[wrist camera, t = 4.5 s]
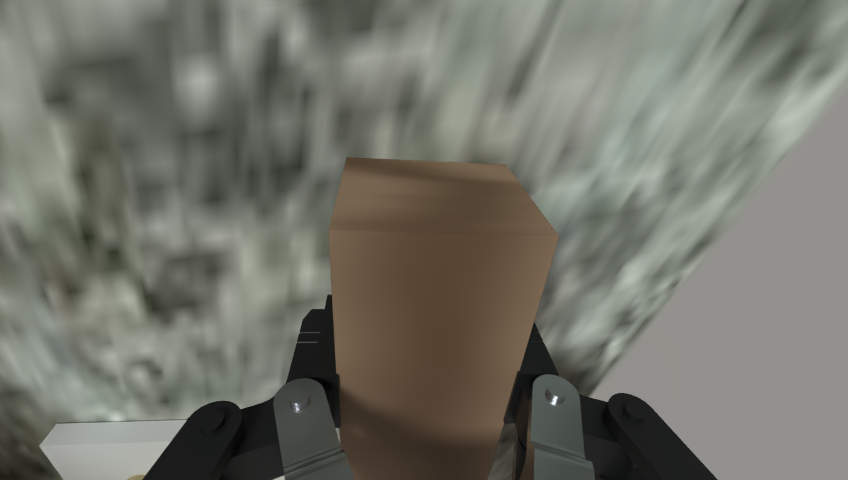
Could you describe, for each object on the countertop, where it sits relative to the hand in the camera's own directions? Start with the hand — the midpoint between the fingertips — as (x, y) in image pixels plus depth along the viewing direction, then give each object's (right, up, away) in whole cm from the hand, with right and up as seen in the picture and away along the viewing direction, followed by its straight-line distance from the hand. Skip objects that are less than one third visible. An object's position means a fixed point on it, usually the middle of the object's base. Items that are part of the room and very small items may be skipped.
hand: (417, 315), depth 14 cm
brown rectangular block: (0, 0, +1) cm, 1 cm away
